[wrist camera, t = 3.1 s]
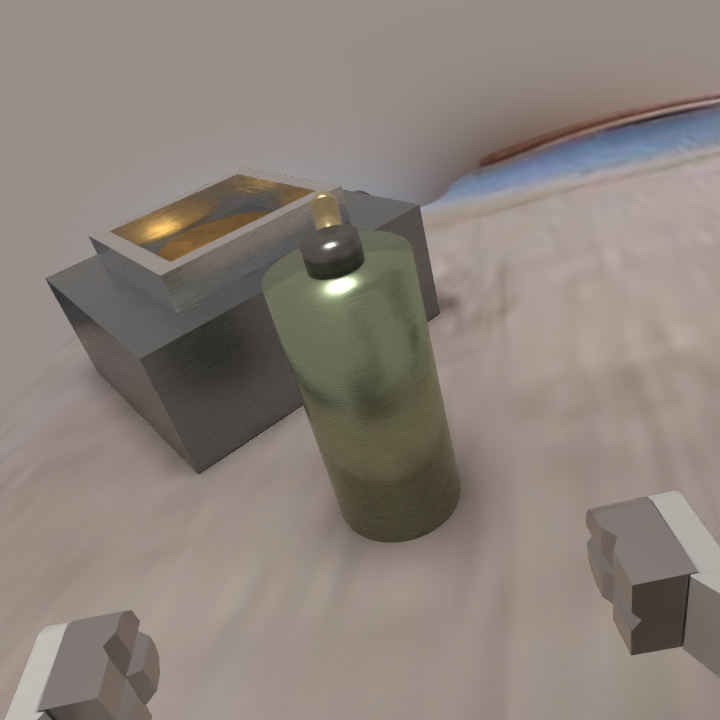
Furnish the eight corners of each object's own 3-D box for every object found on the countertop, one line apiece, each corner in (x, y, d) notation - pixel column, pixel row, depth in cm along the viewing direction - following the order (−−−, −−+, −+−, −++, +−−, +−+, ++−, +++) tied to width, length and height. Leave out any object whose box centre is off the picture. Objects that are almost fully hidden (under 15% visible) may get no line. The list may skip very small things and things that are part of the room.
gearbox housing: (316, 250, 51) (283, 138, 46) (462, 298, 40) (439, 155, 35) (96, 369, 43) (28, 249, 38) (198, 473, 32) (119, 320, 27)
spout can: (473, 525, 25) (415, 231, 18) (345, 554, 25) (240, 275, 19) (442, 427, 30) (388, 169, 23) (336, 452, 30) (252, 205, 24)
